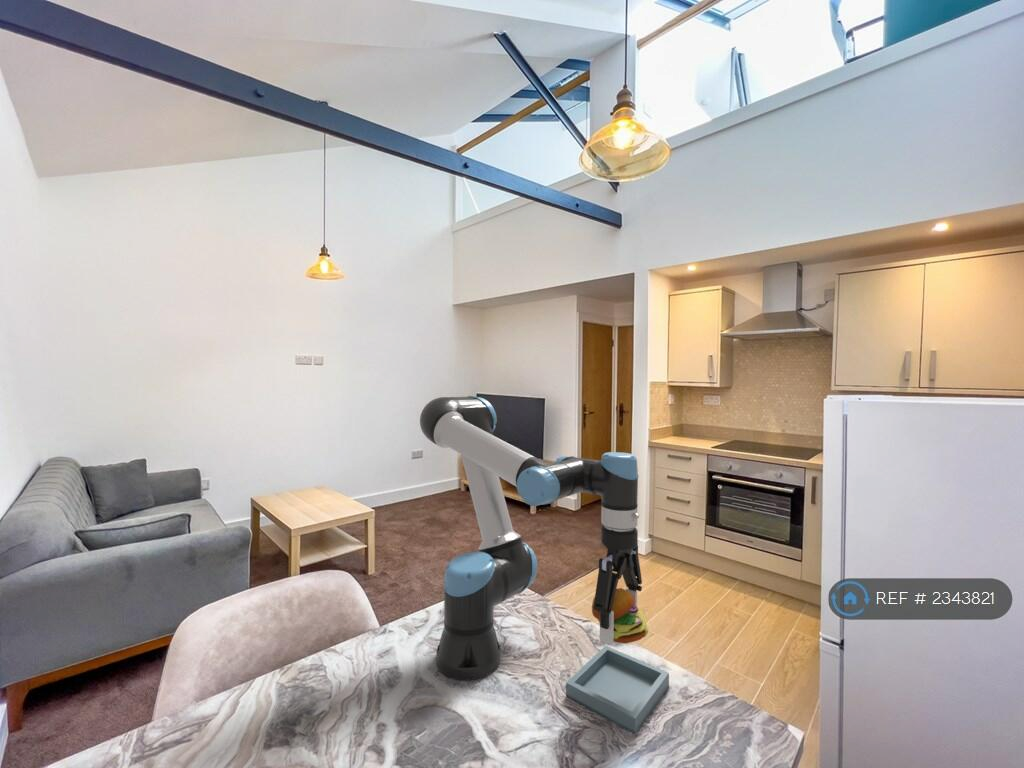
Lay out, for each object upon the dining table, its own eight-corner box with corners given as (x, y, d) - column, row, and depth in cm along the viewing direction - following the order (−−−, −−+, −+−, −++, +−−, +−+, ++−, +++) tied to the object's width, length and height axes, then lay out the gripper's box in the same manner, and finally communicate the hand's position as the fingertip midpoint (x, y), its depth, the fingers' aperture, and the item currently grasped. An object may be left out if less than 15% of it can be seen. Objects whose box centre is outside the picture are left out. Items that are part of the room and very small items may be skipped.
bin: (566, 697, 91) (566, 682, 91) (605, 658, 104) (605, 645, 104) (635, 734, 81) (635, 718, 81) (668, 686, 94) (668, 672, 94)
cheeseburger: (652, 649, 86) (640, 599, 86) (599, 656, 88) (587, 607, 89) (647, 622, 96) (636, 577, 96) (599, 628, 98) (588, 584, 98)
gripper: (610, 545, 82) (609, 663, 81) (657, 517, 99) (657, 615, 99) (575, 536, 86) (575, 648, 86) (626, 511, 104) (626, 604, 104)
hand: (619, 630), depth 92 cm, fingers closed on cheeseburger, 10 cm apart
